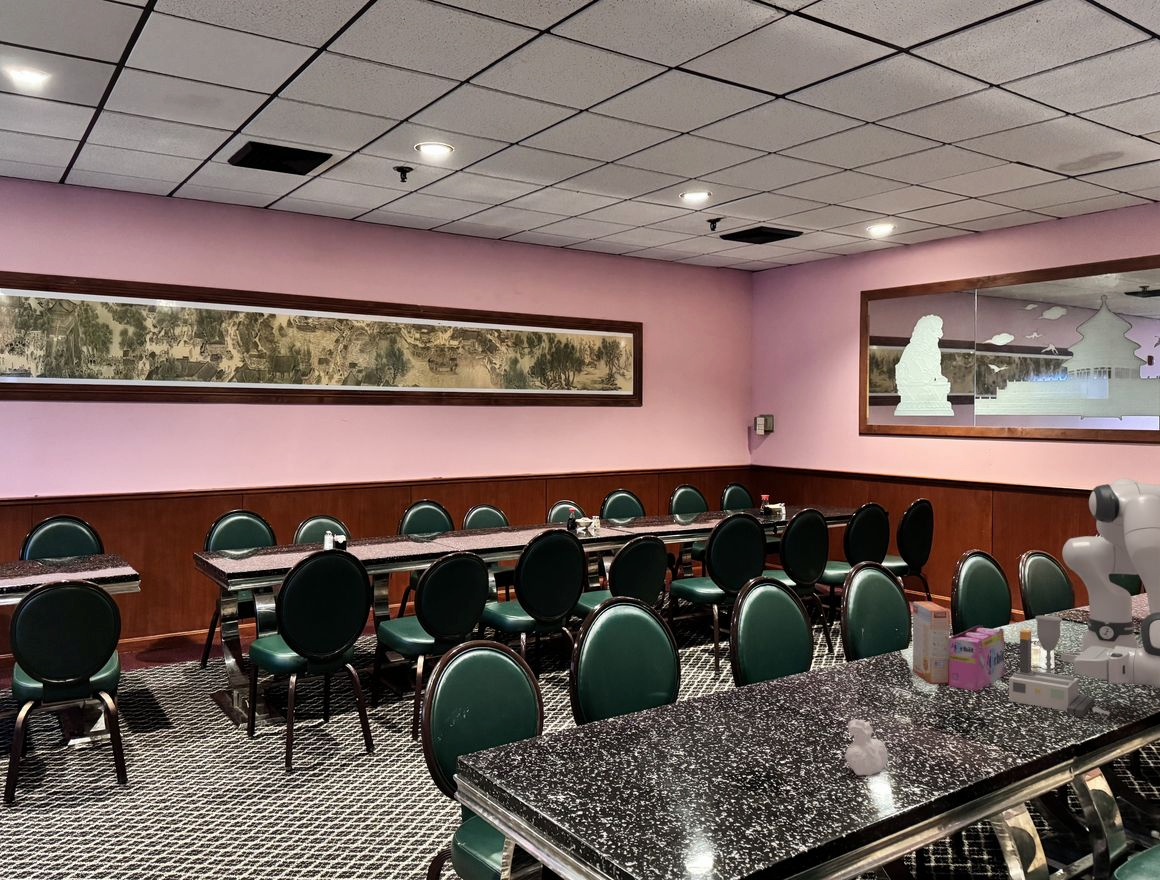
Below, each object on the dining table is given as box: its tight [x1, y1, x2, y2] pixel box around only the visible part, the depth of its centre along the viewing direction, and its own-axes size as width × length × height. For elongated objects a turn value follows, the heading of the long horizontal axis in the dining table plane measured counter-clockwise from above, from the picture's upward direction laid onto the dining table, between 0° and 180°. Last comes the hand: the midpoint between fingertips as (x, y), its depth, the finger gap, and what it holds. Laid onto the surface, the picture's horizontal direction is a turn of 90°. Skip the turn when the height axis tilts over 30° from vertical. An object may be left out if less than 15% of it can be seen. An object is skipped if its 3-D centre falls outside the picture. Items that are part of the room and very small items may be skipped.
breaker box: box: [1008, 669, 1079, 712], centre depth 240 cm, size 11×14×7 cm
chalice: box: [1035, 615, 1063, 674], centre depth 259 cm, size 7×7×18 cm
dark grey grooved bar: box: [1066, 693, 1096, 718], centre depth 234 cm, size 16×3×2 cm, turn 140°
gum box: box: [948, 625, 1006, 692], centre depth 261 cm, size 24×8×14 cm, turn 137°
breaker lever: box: [1015, 629, 1036, 676], centre depth 243 cm, size 4×4×12 cm
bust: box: [844, 718, 889, 777], centre depth 192 cm, size 12×8×11 cm
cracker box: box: [912, 601, 951, 685], centre depth 264 cm, size 14×6×21 cm, turn 179°
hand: (1061, 656), depth 237 cm, fingers closed
